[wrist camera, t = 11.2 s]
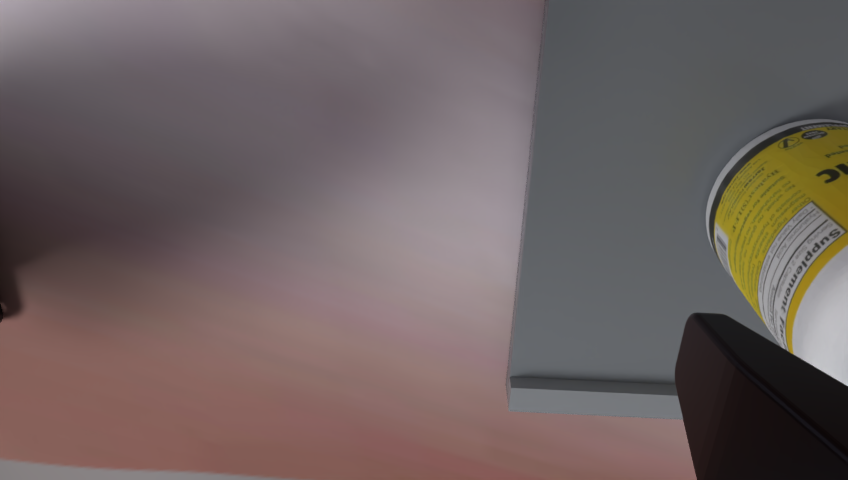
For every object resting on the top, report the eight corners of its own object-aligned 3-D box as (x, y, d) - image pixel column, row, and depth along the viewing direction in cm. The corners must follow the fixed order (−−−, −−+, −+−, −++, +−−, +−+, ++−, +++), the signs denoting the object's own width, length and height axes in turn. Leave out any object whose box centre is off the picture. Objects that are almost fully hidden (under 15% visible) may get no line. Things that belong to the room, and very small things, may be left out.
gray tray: (505, 385, 25) (508, 411, 24) (556, -109, 18) (563, -109, 17) (955, 406, 25) (981, 433, 24) (1187, -89, 18) (1242, -86, 17)
